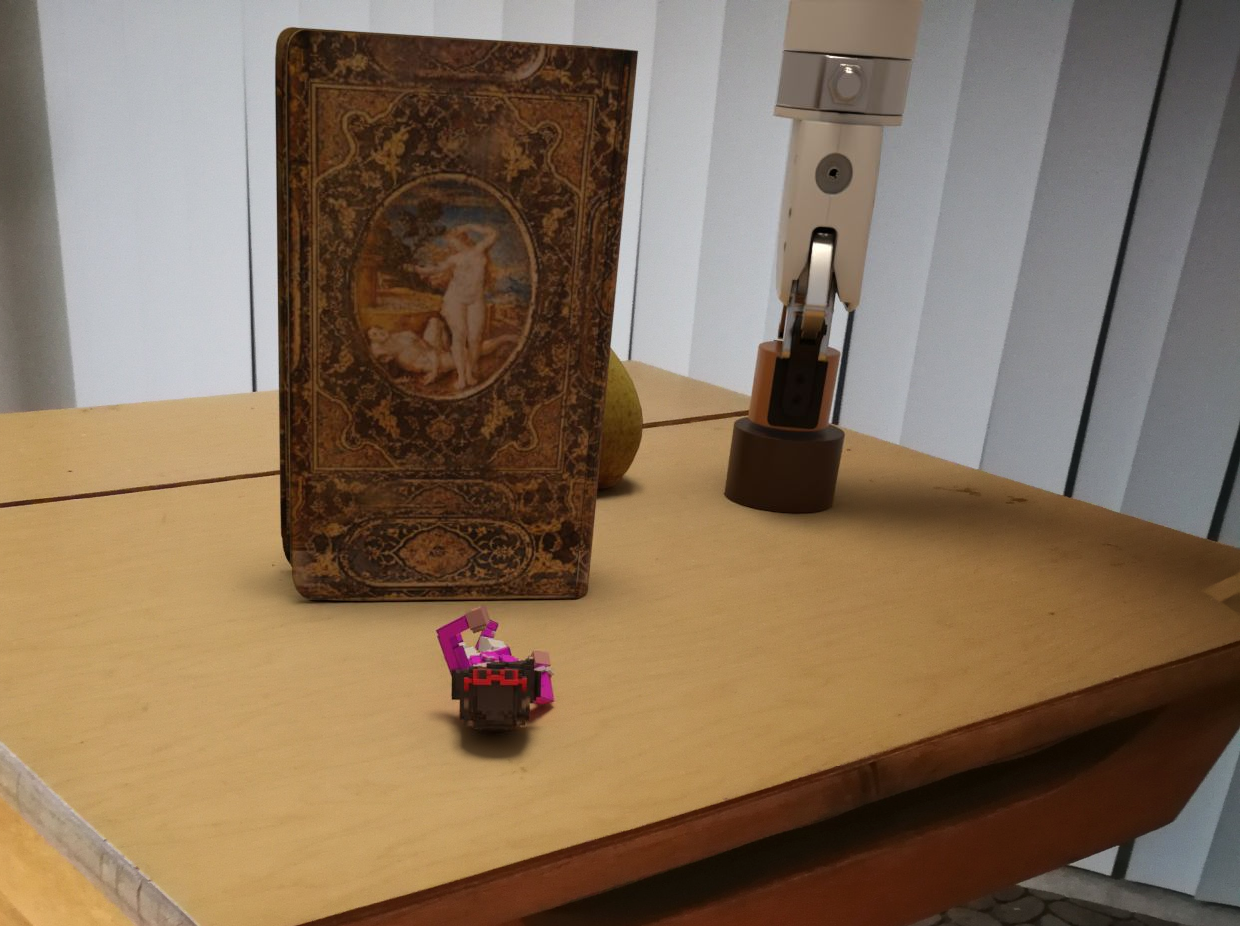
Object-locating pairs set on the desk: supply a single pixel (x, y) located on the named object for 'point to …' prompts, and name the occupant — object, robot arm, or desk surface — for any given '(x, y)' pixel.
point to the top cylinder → (764, 385)
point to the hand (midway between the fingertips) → (790, 413)
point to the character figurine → (492, 675)
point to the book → (445, 309)
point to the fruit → (619, 424)
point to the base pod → (783, 467)
